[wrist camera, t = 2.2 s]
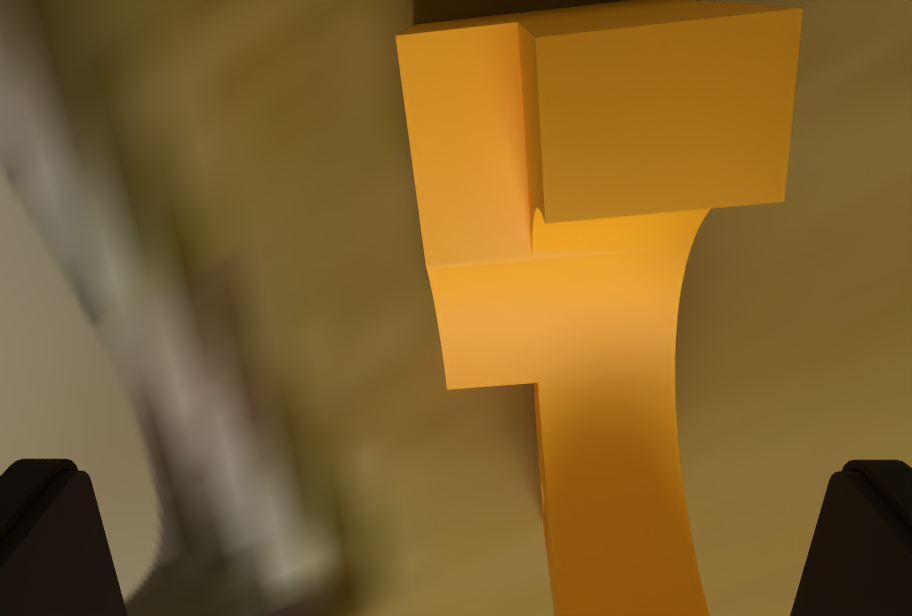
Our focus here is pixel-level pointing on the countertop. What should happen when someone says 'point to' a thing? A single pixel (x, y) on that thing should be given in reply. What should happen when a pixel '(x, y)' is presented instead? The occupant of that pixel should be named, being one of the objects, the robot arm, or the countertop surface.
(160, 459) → the countertop surface
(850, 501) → the robot arm
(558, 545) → the pipe clamp
